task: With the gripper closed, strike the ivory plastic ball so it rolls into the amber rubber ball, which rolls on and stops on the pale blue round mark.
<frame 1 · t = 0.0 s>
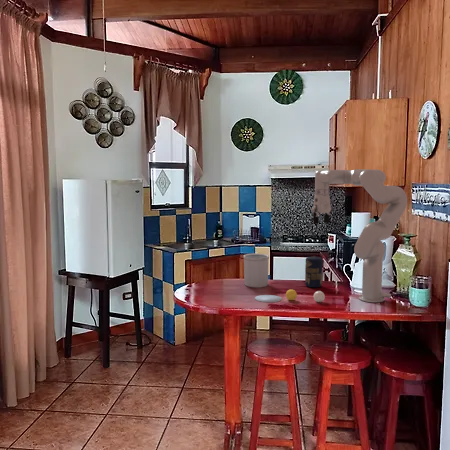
hand: (321, 223, 253), 37 cm above the counter, tool pointing down, fingers open, 9 cm apart
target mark: (268, 298, 235), on the counter
blue cylindrical canister: (313, 286, 262), on the counter
cue ball: (319, 296, 228), on the counter
object ball: (291, 294, 232), on the counter
utensil holder: (256, 285, 266), on the counter
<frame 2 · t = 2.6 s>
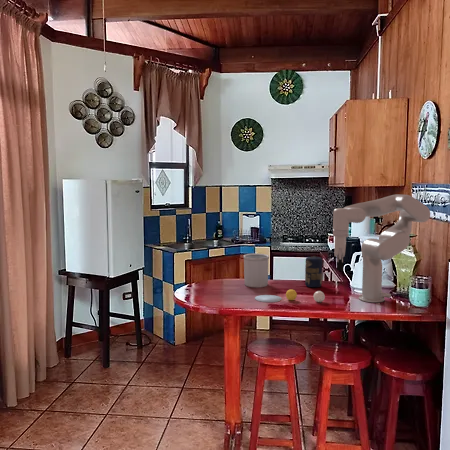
hand: (340, 269, 224), 17 cm above the counter, tool pointing down, fingers closed
nothing on the counter moved.
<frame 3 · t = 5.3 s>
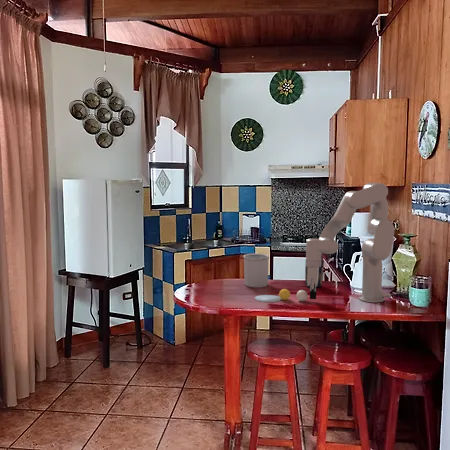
hand: (312, 298, 229), 2 cm above the counter, tool pointing down, fingers closed
cue ball: (301, 295, 231), on the counter
object ball: (284, 294, 233), on the counter
everything else where it was.
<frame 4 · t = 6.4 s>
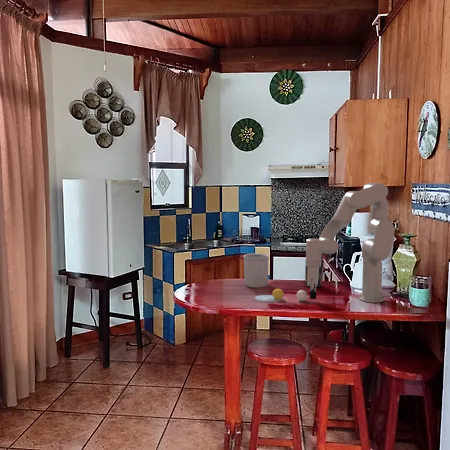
hand: (313, 298, 229), 2 cm above the counter, tool pointing down, fingers closed
object ball: (277, 294, 234), on the counter
everything else where it was.
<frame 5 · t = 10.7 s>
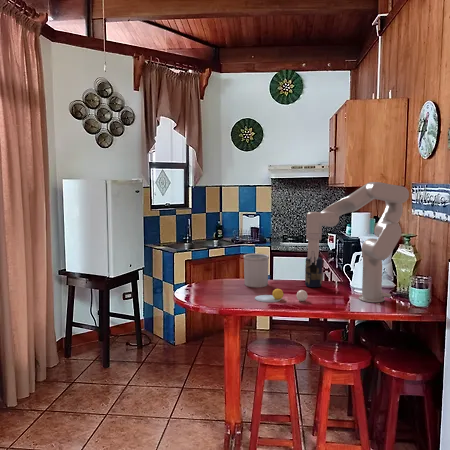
hand: (313, 272, 228), 15 cm above the counter, tool pointing down, fingers closed
nothing on the counter moved.
at the end: object ball 5.1 cm from the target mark (horizontally); object ball never touched the robot; cue ball first touched object ball at 4.9 s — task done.
